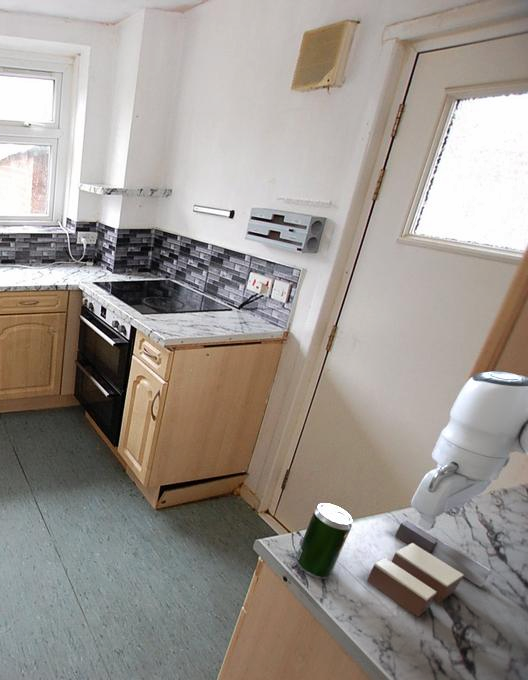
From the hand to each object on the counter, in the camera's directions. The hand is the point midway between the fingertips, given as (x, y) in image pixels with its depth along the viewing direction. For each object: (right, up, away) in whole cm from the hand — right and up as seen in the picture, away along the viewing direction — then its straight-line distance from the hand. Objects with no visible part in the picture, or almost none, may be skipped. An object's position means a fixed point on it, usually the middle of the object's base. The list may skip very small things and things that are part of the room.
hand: (437, 520), depth 86 cm
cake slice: (-16, -9, -9) cm, 20 cm away
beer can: (-27, -6, -5) cm, 28 cm away
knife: (-1, -7, -1) cm, 7 cm away
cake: (-9, -8, -6) cm, 13 cm away
